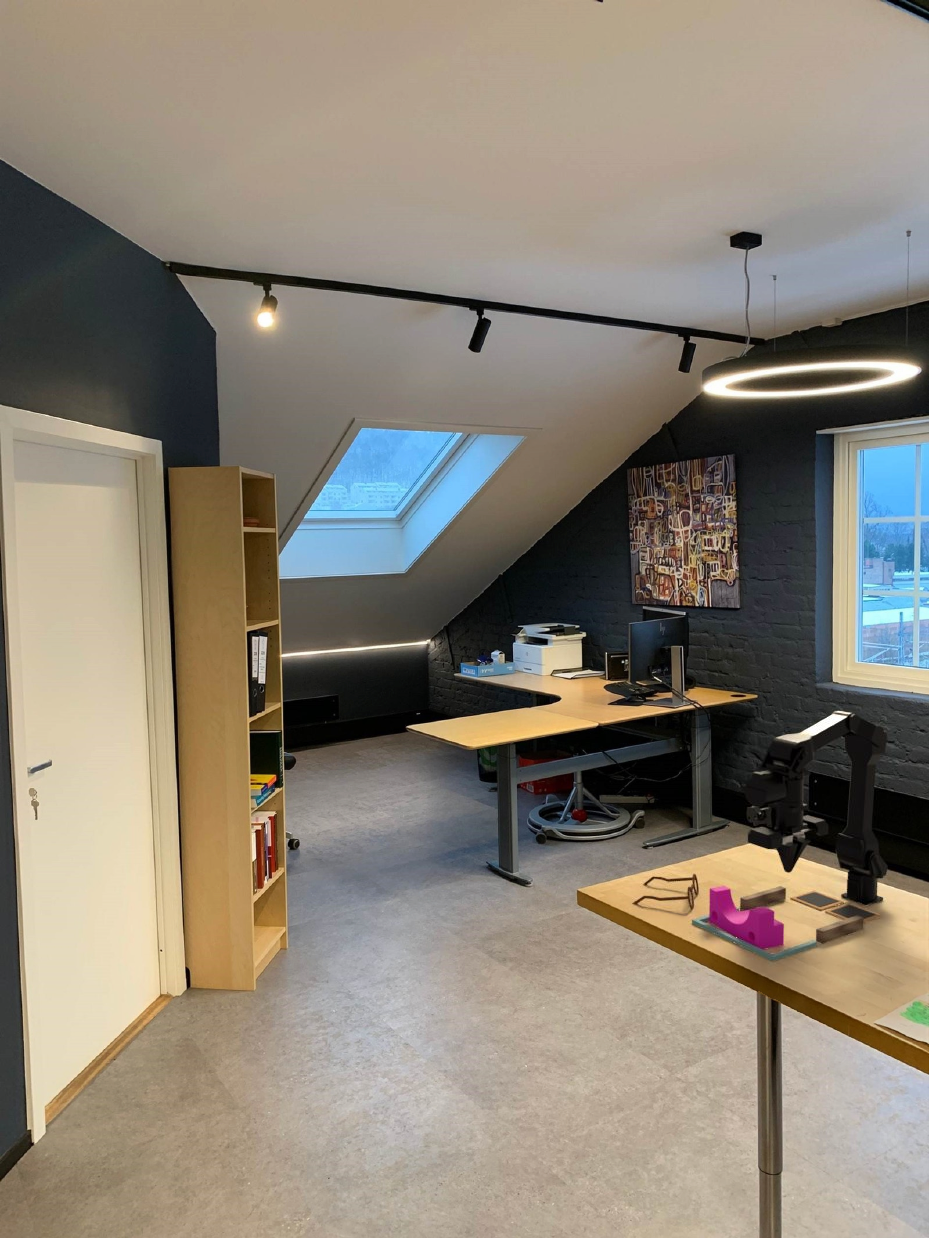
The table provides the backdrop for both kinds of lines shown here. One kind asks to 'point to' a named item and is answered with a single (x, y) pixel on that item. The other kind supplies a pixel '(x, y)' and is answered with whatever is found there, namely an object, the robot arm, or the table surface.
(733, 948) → the table surface
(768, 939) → the toy block
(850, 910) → the pit traps
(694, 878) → the glasses
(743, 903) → the channel
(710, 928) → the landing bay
